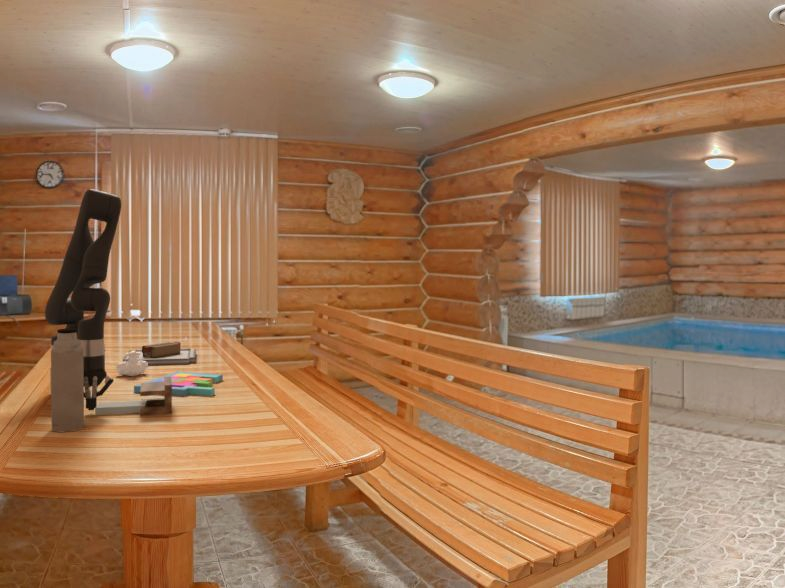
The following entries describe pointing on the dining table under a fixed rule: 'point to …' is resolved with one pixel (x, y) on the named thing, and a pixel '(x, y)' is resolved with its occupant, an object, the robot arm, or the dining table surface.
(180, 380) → the tetris game
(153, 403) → the shelf
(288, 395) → the dining table surface
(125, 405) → the tile
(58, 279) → the robot arm
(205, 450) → the dining table surface
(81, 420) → the thermos bottle
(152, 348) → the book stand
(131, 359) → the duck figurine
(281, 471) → the dining table surface
